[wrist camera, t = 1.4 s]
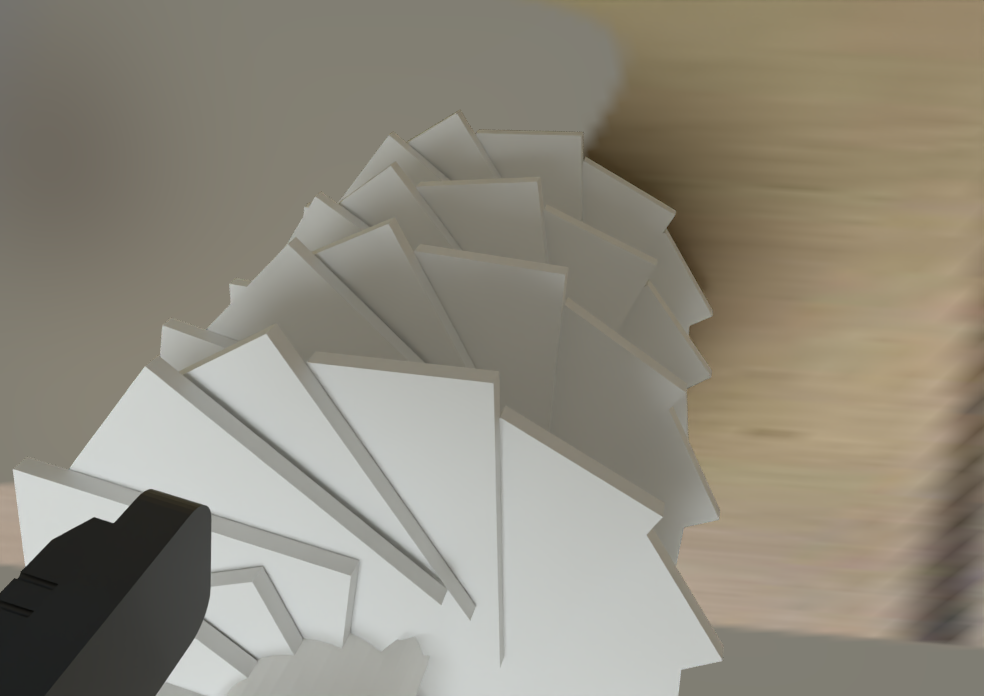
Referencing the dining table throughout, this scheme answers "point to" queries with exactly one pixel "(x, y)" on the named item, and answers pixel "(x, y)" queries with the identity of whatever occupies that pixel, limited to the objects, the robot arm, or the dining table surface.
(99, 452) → the spiral staircase
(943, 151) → the dining table surface
